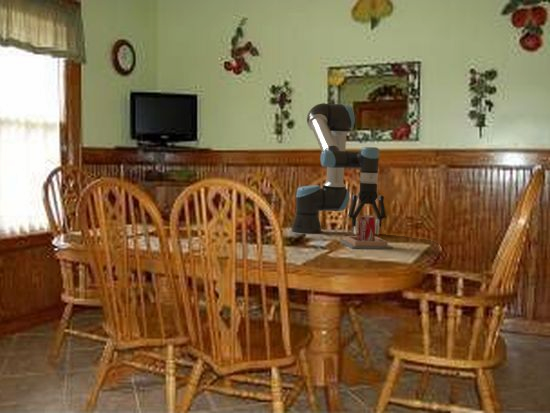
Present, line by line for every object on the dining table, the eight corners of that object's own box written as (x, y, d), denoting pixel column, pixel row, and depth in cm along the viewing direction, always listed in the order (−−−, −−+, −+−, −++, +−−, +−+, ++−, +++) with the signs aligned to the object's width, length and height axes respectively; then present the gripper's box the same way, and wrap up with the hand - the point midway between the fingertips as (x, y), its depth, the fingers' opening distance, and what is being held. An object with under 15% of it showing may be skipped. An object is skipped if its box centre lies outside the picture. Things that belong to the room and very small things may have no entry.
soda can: (375, 244, 251) (376, 217, 250) (358, 244, 251) (360, 216, 250) (373, 242, 258) (374, 215, 257) (357, 241, 258) (358, 214, 257)
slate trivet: (340, 242, 262) (340, 235, 261) (377, 242, 265) (378, 236, 265) (352, 248, 244) (352, 241, 244) (392, 249, 247) (393, 242, 247)
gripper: (347, 182, 246) (344, 234, 248) (395, 183, 250) (393, 235, 252) (342, 181, 254) (339, 232, 256) (389, 182, 258) (386, 232, 260)
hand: (366, 233), depth 254 cm, fingers open, 9 cm apart
